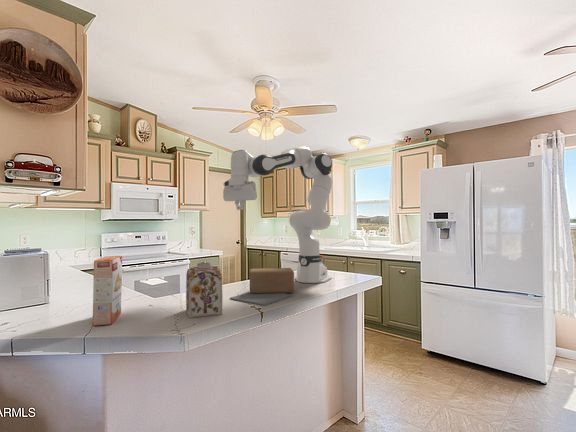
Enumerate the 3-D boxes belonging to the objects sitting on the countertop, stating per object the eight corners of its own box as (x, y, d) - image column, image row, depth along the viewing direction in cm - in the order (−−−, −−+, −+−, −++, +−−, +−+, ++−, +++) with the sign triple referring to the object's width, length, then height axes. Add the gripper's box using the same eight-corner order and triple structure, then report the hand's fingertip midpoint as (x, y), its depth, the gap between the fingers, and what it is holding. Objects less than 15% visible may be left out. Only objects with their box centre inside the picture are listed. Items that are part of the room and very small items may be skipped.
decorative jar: (185, 309, 119) (186, 261, 119) (217, 306, 123) (217, 260, 123) (188, 318, 108) (188, 265, 108) (222, 315, 112) (222, 264, 112)
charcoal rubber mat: (260, 290, 151) (260, 289, 151) (293, 295, 140) (293, 294, 140) (229, 299, 134) (229, 297, 134) (264, 306, 123) (264, 304, 123)
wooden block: (249, 294, 140) (294, 293, 143) (249, 271, 140) (294, 270, 143) (249, 289, 150) (291, 288, 153) (249, 268, 150) (291, 267, 153)
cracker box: (113, 325, 101) (113, 259, 101) (91, 326, 99) (92, 260, 100) (122, 312, 115) (122, 255, 115) (103, 314, 113) (104, 255, 113)
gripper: (259, 181, 155) (259, 209, 155) (230, 184, 167) (230, 210, 167) (250, 180, 150) (251, 209, 150) (221, 183, 162) (221, 210, 162)
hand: (239, 209), depth 159 cm, fingers closed
